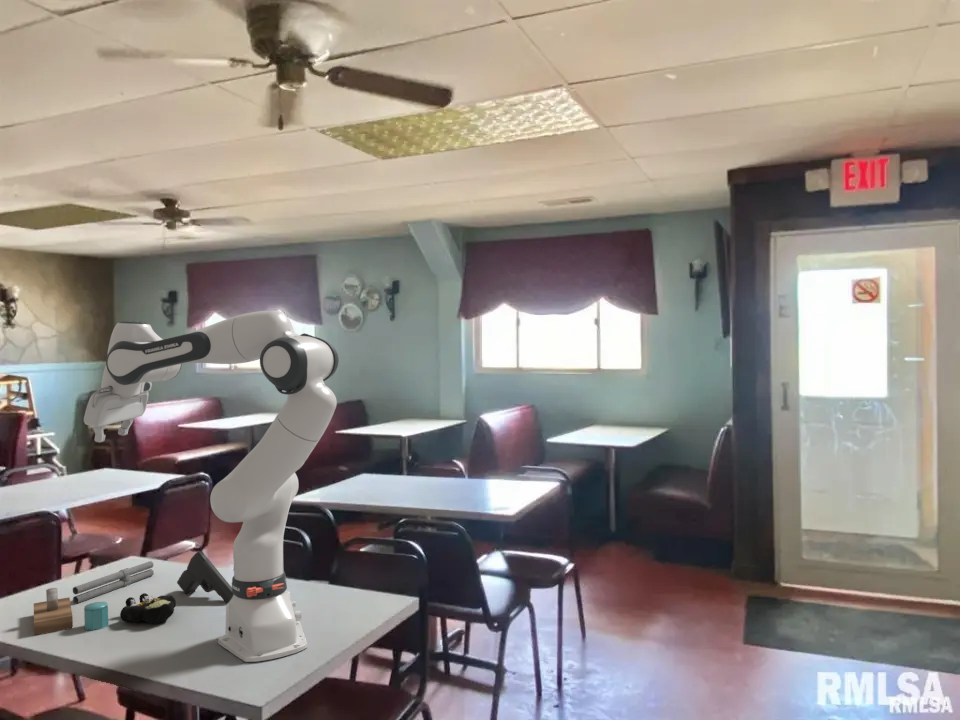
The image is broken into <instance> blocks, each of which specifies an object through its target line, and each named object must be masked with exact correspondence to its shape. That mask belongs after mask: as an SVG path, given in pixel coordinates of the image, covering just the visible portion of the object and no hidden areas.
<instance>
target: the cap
mask: <svg viewBox="0 0 960 720" xmlns="http://www.w3.org/2000/svg"><path fill="white" fill-rule="evenodd" d="M108 605H109V604H108V602H106V601H95V602H91V603H89V604H86V605H84V608H83V610H84V611H83V613H84V616H83V617H84V630H85V629H89V630H88V631H95V629H96V630H100V629H101V628H102V629H104V628H105V627H107V625H108V626H109V606H108Z"/></svg>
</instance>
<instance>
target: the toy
mask: <svg viewBox="0 0 960 720" xmlns="http://www.w3.org/2000/svg"><path fill="white" fill-rule="evenodd" d="M176 605H177V603H176V599H175V597H174V596H173V595H170V594H169V595H159V596H157V597H154V596H153V595H151V599H150V596H149V594H147V593H141V594H140V595H139V602H136V599H135V597H128V598H126V599H125V606H124V607H122V609H121V610H120V614H119V617H120V619H121V621H123V622H127V623H130V622H140V621H145V622H146V623H147V624H153V625H155V624H157V625H158V624H160V623H164V622H165V621H167V620H168V619H169V618H171V616H172V615H174V610H175V608H176Z"/></svg>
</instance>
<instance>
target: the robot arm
mask: <svg viewBox="0 0 960 720" xmlns="http://www.w3.org/2000/svg"><path fill="white" fill-rule="evenodd" d="M110 335H111V336H110V339H109V342H108V343H109V344H108V348H107V356H106V359H105V364H106V365H105V367H104V369H103V374H102V378H101V379H102V380H101V385H100V387H99V388H97V390H96V391H94V393H93V394H92V395H91V396H90V398H89V400H88V402H87V404H86V408H85V413H84V416H83V423H84V424H85V425H86V426H89V427H92V428H93V431H94V441H95V442H96V443H103V442H105V439H106V435H107V434H105V433H104V430H105V429H106V426H108V425H112V424H115V423H119V422H122V423H121V425H120V427H118V431H117V434H118V435H119V436H121V437H123V436H127V435H129V434H128V432H129V429H130V427H131V426H132V424H133V422H134V420H135V418H140V417H143V415H144V414H145V411H146V409H147V405H148V401H149V397H150V396H149V391H151V390H152V386H153V383H155V382H164V381H169V380H173V379H174V378H176V377H177V376H178V374H179V373H180V371H181V369H182V365H184V364H215V365H237V364H244V363H250V362H255V361H258V360H259V367H260V369H261V371H262V373H263V375H264V377H265V378H266V379H267V380H268V381H269V382H270V383H271V384H272V385H274V387H275V389H276V390H277V391H278V393H280V394H282V395H287V398H286V400H285V402H284V404H283V406H282V407H281V409H280V410H279V412H278V413H277V414H276V416H275V418H274V419H273V421H272V422H271V424H270V426H269V427H268V428H267V430H266V432H265V433H264V435H263V436H262V437H261V439H260V440H259V442H258V443H256V445H255V446H254V447H253V449H251V450H250V451H249V452H248V454H246V456H245V457H244V458H242V460H241V461H240V462H239V463H238V464H237V466H235V467H234V468H233V470H232V471H231V472H229V473H228V475H226V476H225V477H224V478H223V479H221V480H220V481H218V482H217V483H216V484H215V485H214V486H213V488H212V490H211V493H210V496H209V497H210V499H209V500H210V501H209V502H210V507H211V510H212V512H213V513H214V515H215V516H216V517H217V518H218V519H219V520H221V521H222V522H226V523H242V525H241V528H240V530H239V533H238V534H237V536H236V537H235V539H234V542H233V546H232V548H233V549H232V550H233V554H232V555H233V576H232V578H231V587H232V593H233V597H232V599H231V600H230V601H229V602H228V603H226V605H225V632H224V633H225V634H223V635H221V636H220V637H219V638H218V645H219V646H220V647H223V648H224V649H225V650H226V651H228V652H230V653H231V654H233V655H234V656H236V657H237V658H238V659H240V660H241V661H243V662H245V663H255V662H256V663H257V662H262V661H263V662H264V661H270V660H274V659H278V658H282V657H285V656H290V655H294V654H296V653H299V652H301V651H304V650H305V649H307V648H308V642H307V639H306V635H305V633H304V630H303V626H302V623H301V621H302V611H301V610H294V608H296V607H297V606H296V601H295V600H291V592H290V591H289V590H288V585H287V582H288V580H287V576H286V572H285V570H284V535H285V529H286V524H287V520H288V517H289V516H288V515H289V511H290V508H291V505H292V502H293V501H294V499H295V496H297V494H298V491H299V478H298V476H297V473H296V472H297V471H298V470H300V469H301V468H302V467H303V465H305V462H306V461H307V460H308V459H309V456H310V455H311V454H312V452H313V450H314V449H315V448H316V446H317V445H318V443H319V442H320V440H321V438H322V437H323V435H324V433H325V432H326V430H327V428H328V426H329V424H330V423H331V420H332V419H333V416H334V413H335V410H336V409H337V405H338V401H337V397H336V395H335V393H334V392H333V390H332V389H331V388H330V387H329V386H327V385H326V384H325V381H327V380H328V379H330V378H331V377H333V375H334V374H335V373H336V371H337V369H338V367H339V353H338V351H337V350H336V348H335V346H333V345H332V344H331V343H330V342H328V341H326V340H325V339H323V338H320V337H317V336H314V335H310V334H308V333H304V332H303V333H302V334H297V333H296V332H295V331H294V328H293V325H292V322H291V320H290V319H289V316H287V315H286V314H285V313H283V312H282V311H279V310H276V309H275V310H272V309H271V310H261V311H260V310H259V311H252V312H246V313H243V314H242V313H241V314H239V315H236V316H232V317H229V318H226V319H224V320H221V321H218V322H216V323H212V324H211V325H210V324H209V325H208V326H207V325H206V326H205V327H202V328H199V329H195V330H193V331H190V332H188V333H187V332H186V333H184V334H180V335H176V336H173V337H168V338H164V339H163V338H162V337H160V336H159V335H158V334H157V333H156V332H155V331H154V329H153V328H152V325H151V324H150V323H147V322H145V321H134V320H133V321H131V320H127V321H126V320H121V321H119V322H117V323H116V325H115V326H114V328H113V330H112V333H111V334H110ZM152 382H153V383H152Z"/></svg>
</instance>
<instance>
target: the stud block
mask: <svg viewBox="0 0 960 720" xmlns="http://www.w3.org/2000/svg"><path fill="white" fill-rule="evenodd" d="M45 590H46V591H45V592H46V594H45V596H46V601H39V602H35V603H33V632H34V633H33V634H34V636H36V635H35V634H39V635H41V634H40V633H44V634H47V633H46V632H49V633H53V632H52V631H54V632H59V631H58V630H60V631H63V629H65V630H68V629H67V628H70V629H73V628H74V627H73V625H74V624H73V622H74V621H73V619H74V618H73V611H72V603H71V599H70V597H64V598H59V597H58V596H59V595H58V588H57V587H51V588H47V589H45ZM72 627H73V628H72Z"/></svg>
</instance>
